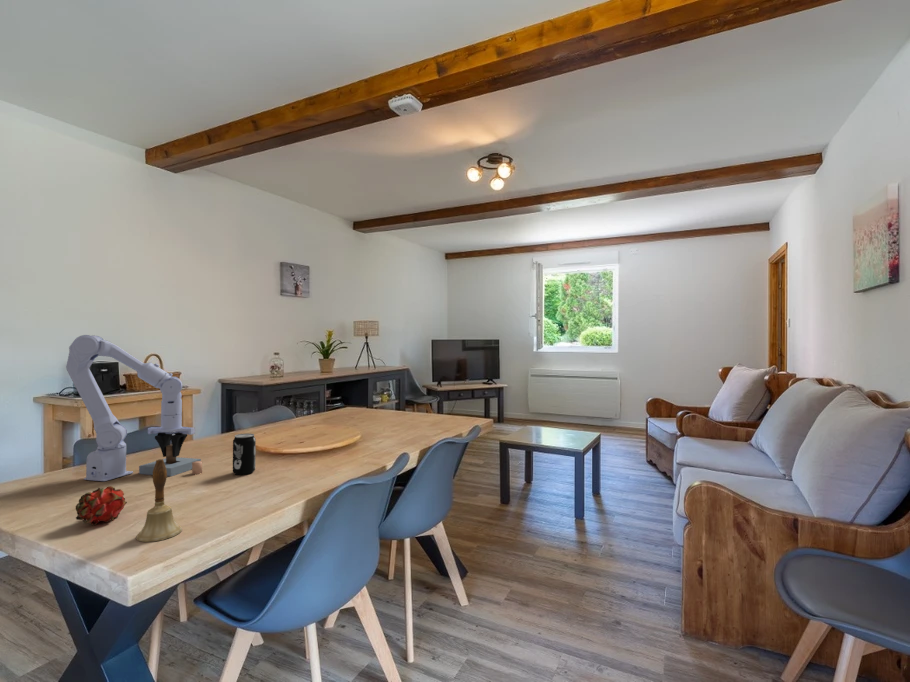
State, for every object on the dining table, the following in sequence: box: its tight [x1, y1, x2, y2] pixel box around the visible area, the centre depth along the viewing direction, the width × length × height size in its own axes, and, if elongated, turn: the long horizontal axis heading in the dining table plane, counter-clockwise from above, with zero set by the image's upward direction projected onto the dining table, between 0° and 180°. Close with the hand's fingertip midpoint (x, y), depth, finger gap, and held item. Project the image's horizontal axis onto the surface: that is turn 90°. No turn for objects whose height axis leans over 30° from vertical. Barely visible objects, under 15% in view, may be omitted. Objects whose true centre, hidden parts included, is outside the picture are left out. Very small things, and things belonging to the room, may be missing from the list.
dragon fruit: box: [75, 485, 128, 526], centre depth 105 cm, size 8×8×12 cm
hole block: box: [138, 456, 202, 477], centre depth 147 cm, size 12×12×2 cm
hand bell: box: [135, 458, 183, 543], centre depth 98 cm, size 8×8×16 cm
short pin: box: [191, 460, 203, 475], centre depth 144 cm, size 3×3×4 cm
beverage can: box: [232, 433, 257, 476], centre depth 145 cm, size 7×7×12 cm
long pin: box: [165, 444, 176, 464], centre depth 147 cm, size 3×3×6 cm
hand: (171, 456), depth 147 cm, fingers closed on long pin, 3 cm apart
